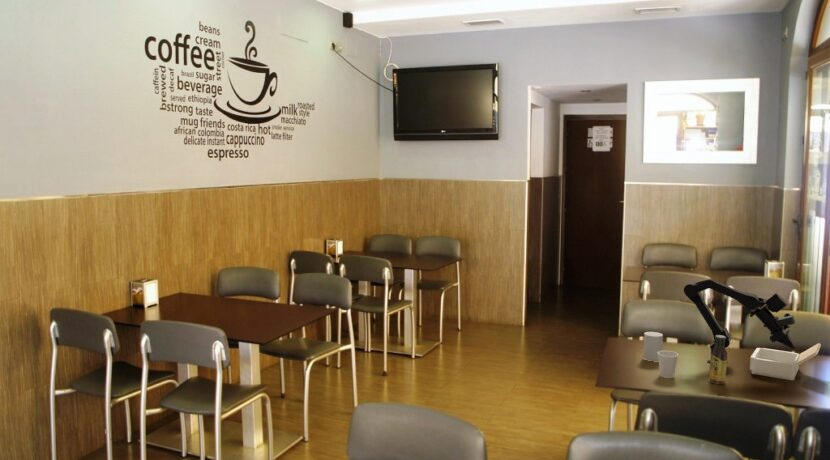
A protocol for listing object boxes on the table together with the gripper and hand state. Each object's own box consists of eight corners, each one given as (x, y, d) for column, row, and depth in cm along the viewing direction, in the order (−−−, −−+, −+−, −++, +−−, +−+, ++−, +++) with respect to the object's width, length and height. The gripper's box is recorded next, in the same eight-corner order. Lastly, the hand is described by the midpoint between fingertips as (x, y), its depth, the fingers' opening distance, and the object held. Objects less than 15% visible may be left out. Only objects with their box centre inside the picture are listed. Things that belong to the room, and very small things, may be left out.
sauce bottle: (706, 380, 286) (708, 333, 283) (720, 379, 286) (722, 333, 284) (714, 385, 279) (716, 338, 277) (728, 385, 280) (731, 337, 277)
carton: (749, 373, 294) (750, 357, 293) (756, 362, 310) (757, 347, 309) (793, 381, 284) (794, 364, 284) (798, 368, 300) (799, 353, 300)
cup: (661, 357, 317) (662, 332, 315) (661, 362, 309) (663, 337, 308) (643, 356, 319) (644, 331, 318) (643, 361, 312) (644, 335, 310)
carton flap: (815, 352, 280) (817, 354, 280) (819, 342, 294) (820, 344, 293) (796, 363, 284) (797, 365, 284) (800, 353, 298) (802, 355, 298)
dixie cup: (667, 380, 285) (668, 357, 284) (652, 374, 293) (653, 352, 291) (681, 377, 289) (682, 354, 288) (666, 371, 296) (667, 349, 295)
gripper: (780, 312, 285) (808, 342, 280) (786, 304, 300) (813, 332, 295) (758, 327, 290) (785, 357, 286) (765, 318, 306) (790, 347, 301)
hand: (794, 348), depth 292 cm, fingers closed
